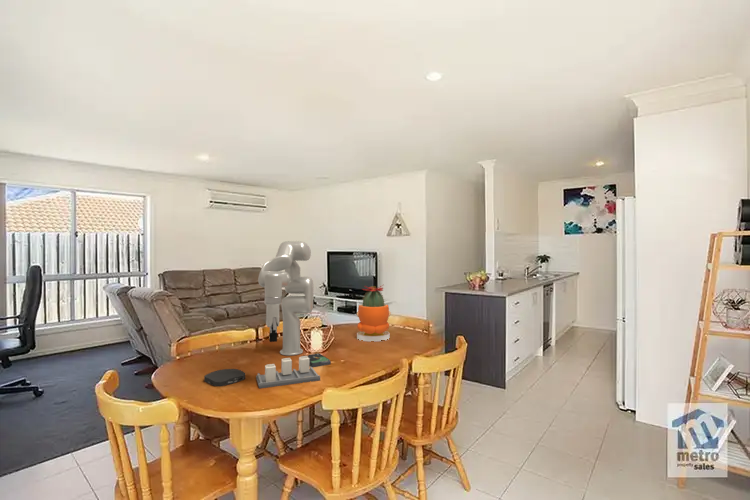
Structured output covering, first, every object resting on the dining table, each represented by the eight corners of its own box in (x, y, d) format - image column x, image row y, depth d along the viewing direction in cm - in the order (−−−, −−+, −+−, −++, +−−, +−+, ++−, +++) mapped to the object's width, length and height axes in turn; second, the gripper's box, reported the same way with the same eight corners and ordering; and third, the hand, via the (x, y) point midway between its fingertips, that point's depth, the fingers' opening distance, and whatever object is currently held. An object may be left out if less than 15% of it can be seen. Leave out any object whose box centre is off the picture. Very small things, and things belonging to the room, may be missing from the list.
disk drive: (300, 361, 196) (312, 368, 184) (300, 355, 196) (312, 362, 184) (319, 358, 202) (331, 365, 190) (319, 353, 202) (331, 359, 190)
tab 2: (281, 372, 172) (281, 357, 172) (290, 371, 174) (290, 356, 174) (282, 375, 169) (282, 360, 168) (291, 374, 170) (291, 359, 170)
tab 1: (265, 379, 163) (265, 363, 163) (274, 378, 165) (274, 362, 165) (266, 382, 159) (266, 366, 159) (275, 381, 161) (275, 365, 161)
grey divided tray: (256, 377, 169) (256, 373, 169) (312, 370, 179) (312, 366, 179) (259, 388, 156) (259, 383, 156) (320, 380, 166) (320, 375, 166)
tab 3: (298, 370, 175) (298, 355, 175) (307, 369, 177) (307, 354, 177) (300, 372, 172) (300, 358, 172) (309, 371, 173) (309, 357, 173)
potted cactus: (355, 335, 252) (356, 283, 252) (388, 334, 254) (388, 283, 254) (357, 343, 230) (358, 286, 230) (393, 342, 233) (394, 286, 233)
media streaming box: (231, 372, 177) (231, 366, 177) (248, 379, 168) (248, 372, 168) (200, 380, 166) (200, 374, 166) (217, 388, 157) (217, 381, 157)
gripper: (262, 298, 174) (262, 338, 174) (266, 303, 160) (266, 346, 160) (279, 297, 176) (279, 336, 177) (284, 302, 162) (284, 344, 163)
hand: (273, 341), depth 168 cm, fingers closed
